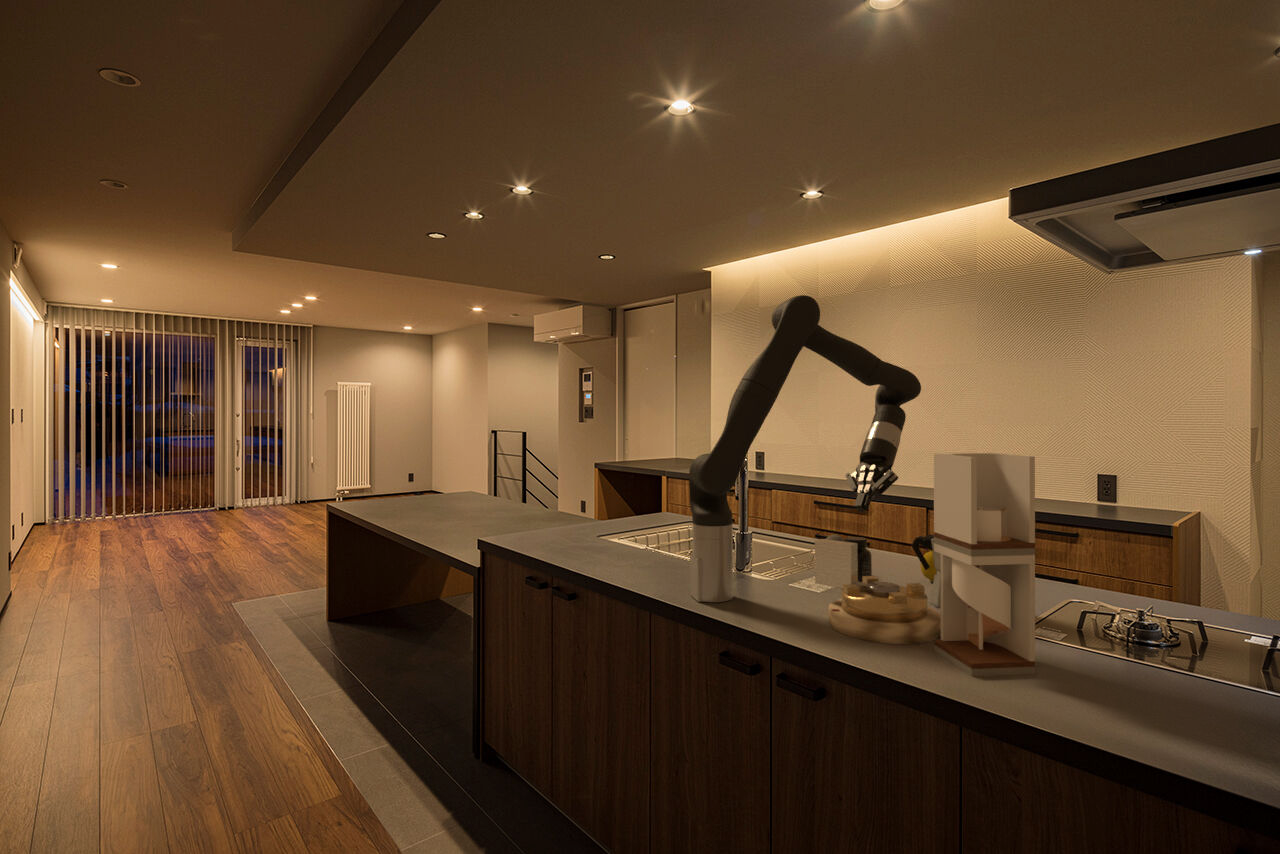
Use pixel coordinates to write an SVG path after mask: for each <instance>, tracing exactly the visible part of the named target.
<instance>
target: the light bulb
mask: <svg viewBox="0 0 1280 854" xmlns="http://www.w3.org/2000/svg"><path fill="white" fill-rule="evenodd" d="M825 539H827V540H835V541H843V542H846V539H844V538H843V537H842V536H841V535H838V534H831V535H828V536H827V537H826V538H825Z"/></svg>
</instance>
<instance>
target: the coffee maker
mask: <svg viewBox="0 0 1280 854" xmlns="http://www.w3.org/2000/svg"><path fill="white" fill-rule="evenodd" d="M919 546H922V547H924V548H926V549H928V550H929V551H932V552H933V559H934V566H935V569H936V570H937V573H936V574H935V576H934V582H932V588H931V595H930V600H929V601H930V602H929V604H930V605H931V604H932V606H933V605H934V606H935V608H936V607H937V608H936V609H939V608H941V571H940V553H938V552H935V551H934V534H928V535H925V536H923V535H920V536H916V537H915V538H914V539H913V541H912V543H911V548H912V550H913V552H914V553H915V555H916V557H917V558H918V560H919V562H920V565H921V564H922V565H923V567H924V569H925V570H927V569H928V568H930V566H929V564H928V563H927V561H926V559H925V558H924V554H923V552H922V551H921V549H920V548H919ZM934 606H933V607H934Z"/></svg>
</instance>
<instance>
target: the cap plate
mask: <svg viewBox="0 0 1280 854" xmlns="http://www.w3.org/2000/svg"><path fill="white" fill-rule="evenodd" d="M828 624H829V626H830V627H831V628H832V629H833V630H834V631H837V632H838V633H840V634H843V635H845V636H848V637H851V638H853V639H854V638H855V639H858V640H862V641H867V642H871V643H872V642H873V643H880V644H891V645H915V644H916V645H917V644H923V643H924V644H925V643H928V642H929V643H930V642H933V641H934V640H938V639H939V638H941V612H939V611H938V610H936V609H934V608H933V607H930V606H929V605H927V616H926V617H925V618H923V619H920V620H916V621H908V622H888V621H877V620H871V619H866V618H861V617H858V616H855V615H852V614H849V613H847V612H846V611H844V610H843V609H842V607H841V598H840V599H836V600H834V601H832V602H830V603H829V605H828Z"/></svg>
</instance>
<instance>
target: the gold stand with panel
mask: <svg viewBox="0 0 1280 854" xmlns="http://www.w3.org/2000/svg"><path fill="white" fill-rule="evenodd" d="M814 584H816V585H817V584H818V585H822V586H828V587H834V588H839V589H840V588H841V590H840V591H841V592H840V594H841V595H840V596H841V597H840V599H841V607H842V609H843V610H844V611H846V612H847V613H849V614H852V615H855V616H858V617H861V618H866V619H871V620H877V621H888V622H908V621H916V620H920V619H923V618H925V617H926V616H927V606H928V596H927V594H925V585H924V584H922V583H919V582H912V583H911V582H910V583H909V582H908V583H907V582H906V586H904V585H899V584H896V583H893V582H889V581H879V578H878V577H876V576H874V575H872V576H863V582H858V560H857V543H851V542H846V541H845V542H843V541H835V540H827V539H826V538H820V539H815V540H814Z"/></svg>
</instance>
